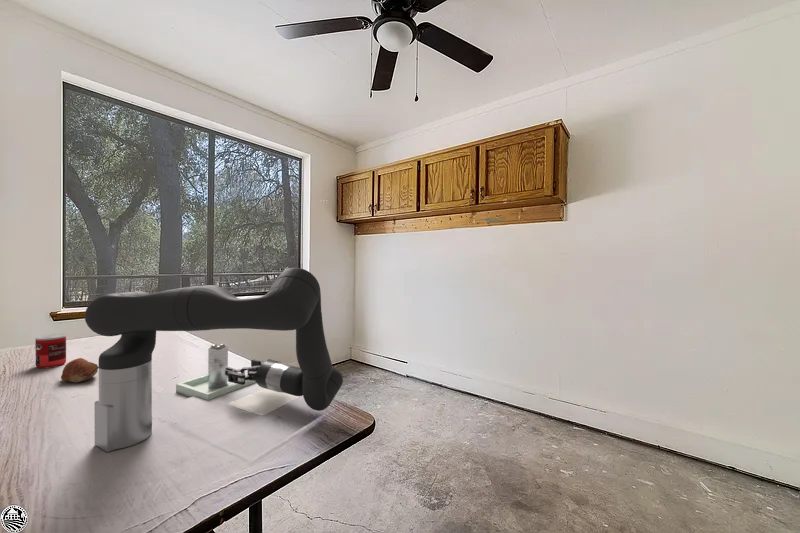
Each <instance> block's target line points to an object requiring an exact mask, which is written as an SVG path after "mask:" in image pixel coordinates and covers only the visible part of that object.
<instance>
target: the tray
mask: <svg viewBox="0 0 800 533" xmlns="http://www.w3.org/2000/svg"><path fill="white" fill-rule="evenodd" d="M237 373H239V372H237ZM246 375H247V373H245V376H246ZM254 383H256V381H252V380H246V381H245V384H243V385H241V384H236V383H232V382H228V384H227V385H226V386H225V387H222V388H216V390H215V389H209V388H208V373H207V374H204V375H202V376H197V377H194V378H191V379H188V380H185V381H181V382H178V383H176V384H175V393H178V394H180V395H183V396H186V397H189V398H193V397H199V398H201V399H203V400H206V401H209V400H212V399H215V398H216V397H220V396H222V395H225V394H228V393H231V392H234V391H235V390H239V389H241V388H244V387H246V386H249V385H251V384H254Z"/></svg>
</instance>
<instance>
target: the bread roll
mask: <svg viewBox="0 0 800 533" xmlns="http://www.w3.org/2000/svg"><path fill="white" fill-rule="evenodd" d="M98 372H99V365H98V364H97V363H94V362H92V361H88V360H86V359H84V358H82V357H79V358H75V359H73V360H71V361H69V362H68V363H66V364H65V366H64V367H63V369H62V373H61V376H60V379H61V380H62V381H65V382H71V383H82V382H85V381H87V380H90V379H91V378H93V377H94V376H95V375H96V374H98Z"/></svg>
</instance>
